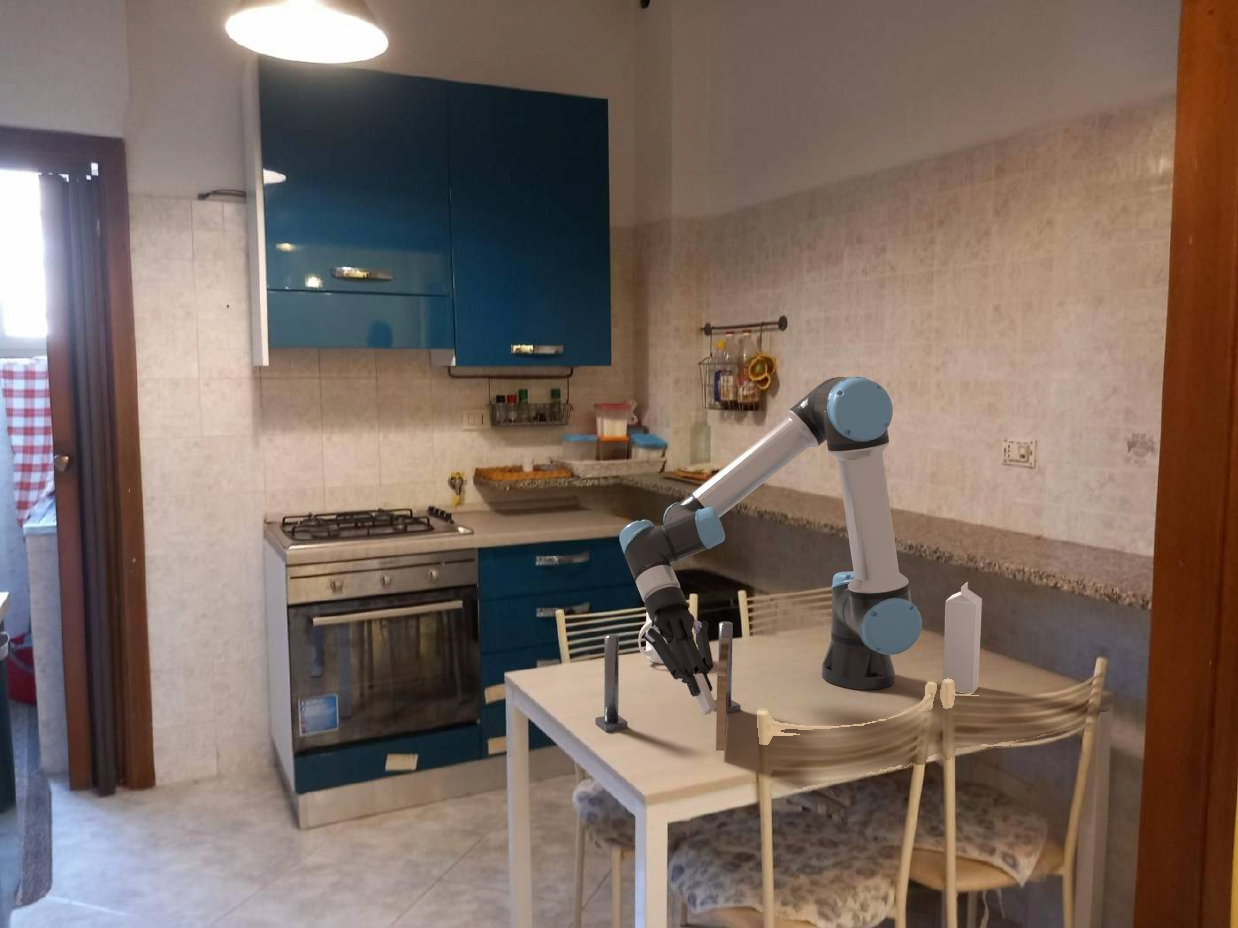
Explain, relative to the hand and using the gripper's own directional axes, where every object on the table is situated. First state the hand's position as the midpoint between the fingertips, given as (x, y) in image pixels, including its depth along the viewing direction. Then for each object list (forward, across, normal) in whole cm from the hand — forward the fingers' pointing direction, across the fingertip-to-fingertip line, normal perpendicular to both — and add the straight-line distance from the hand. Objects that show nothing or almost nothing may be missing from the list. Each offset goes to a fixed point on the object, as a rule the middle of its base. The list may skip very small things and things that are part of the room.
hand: (709, 710), depth 162 cm
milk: (+4, -63, -6) cm, 63 cm away
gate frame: (-6, -1, -16) cm, 17 cm away
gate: (+1, -6, -7) cm, 9 cm away
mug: (-28, -17, -38) cm, 51 cm away
